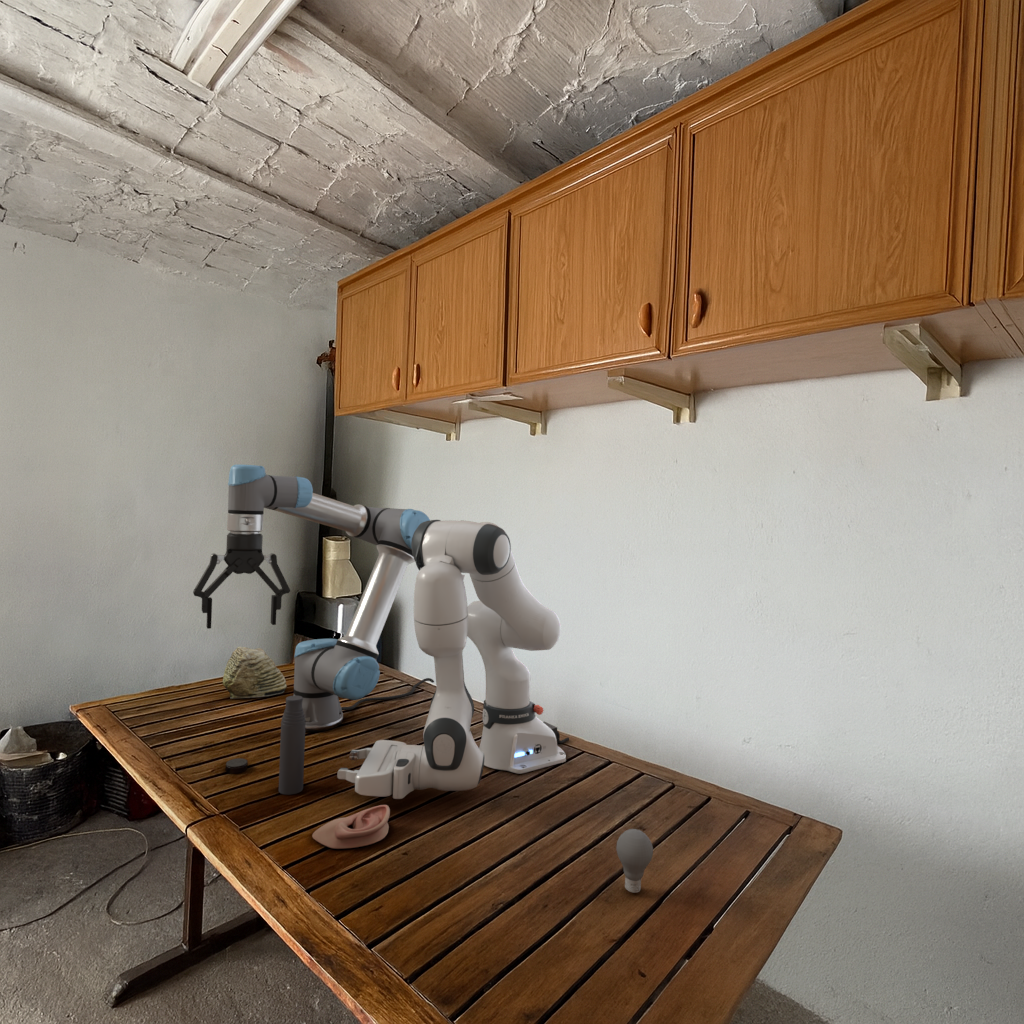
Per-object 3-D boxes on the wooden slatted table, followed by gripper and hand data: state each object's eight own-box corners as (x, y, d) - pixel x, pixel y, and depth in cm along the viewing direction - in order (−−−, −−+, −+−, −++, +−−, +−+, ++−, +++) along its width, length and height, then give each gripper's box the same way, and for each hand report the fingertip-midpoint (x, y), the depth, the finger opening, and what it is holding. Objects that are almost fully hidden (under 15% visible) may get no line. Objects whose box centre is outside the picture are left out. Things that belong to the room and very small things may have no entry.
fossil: (218, 695, 195) (220, 647, 195) (278, 685, 208) (279, 640, 207) (228, 703, 189) (230, 653, 188) (289, 692, 201) (290, 645, 201)
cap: (234, 764, 148) (234, 757, 148) (251, 766, 147) (252, 759, 147) (220, 772, 143) (221, 765, 143) (238, 775, 142) (239, 767, 142)
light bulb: (610, 879, 108) (613, 822, 108) (644, 879, 109) (647, 822, 109) (619, 902, 102) (622, 840, 102) (655, 901, 103) (658, 840, 103)
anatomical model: (304, 822, 115) (334, 794, 126) (303, 844, 115) (333, 813, 126) (372, 833, 112) (397, 803, 124) (371, 855, 113) (396, 823, 124)
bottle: (300, 794, 134) (303, 701, 134) (275, 794, 134) (279, 701, 133) (305, 784, 139) (308, 694, 139) (281, 784, 139) (285, 694, 138)
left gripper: (184, 533, 135) (180, 632, 135) (305, 534, 147) (301, 625, 147) (182, 530, 141) (179, 625, 141) (298, 532, 153) (295, 619, 154)
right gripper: (416, 734, 147) (357, 731, 147) (400, 772, 126) (331, 769, 126) (415, 761, 147) (356, 758, 147) (399, 803, 126) (330, 800, 126)
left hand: (241, 625), depth 144 cm, fingers open, 13 cm apart
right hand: (344, 763), depth 136 cm, fingers open, 8 cm apart
